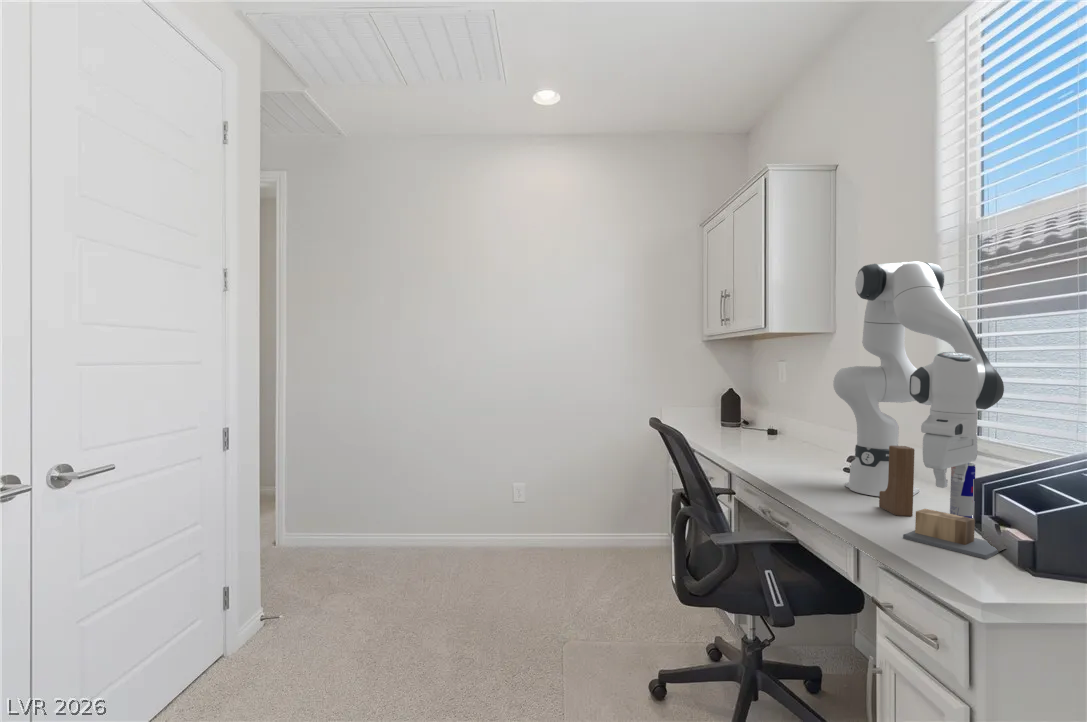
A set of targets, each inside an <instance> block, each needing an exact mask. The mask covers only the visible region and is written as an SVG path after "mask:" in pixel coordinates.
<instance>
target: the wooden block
mask: <svg viewBox="0 0 1087 722" xmlns="http://www.w3.org/2000/svg"><path fill="white" fill-rule="evenodd" d="M914 478H915V448H913V447H910V446H908V445H898V446H889V473H888V486H887V489H886V490H885V491H880V493H879V496H878V497H879V498H878V499H879V500H878V502H879V503H878V506H879V508H881V509H883V510H885V511H887V512H889V513H891V514H892V515H895V516H897V517H898V516H899V517H902V516H903V517H912V516H913V513H914V512H913V511H914V495H913V487H914V485H915V484H914V483H915V482H914Z"/></svg>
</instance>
